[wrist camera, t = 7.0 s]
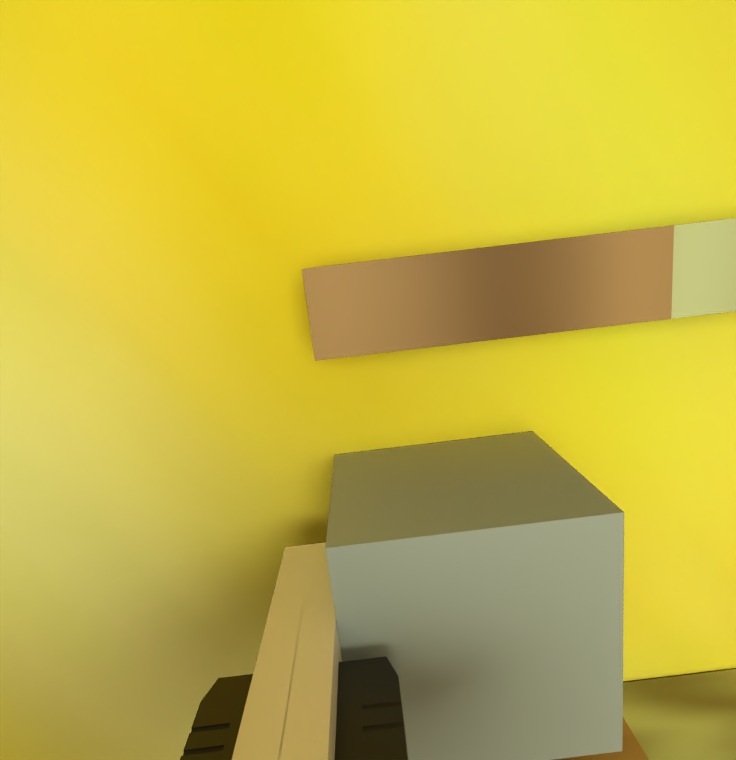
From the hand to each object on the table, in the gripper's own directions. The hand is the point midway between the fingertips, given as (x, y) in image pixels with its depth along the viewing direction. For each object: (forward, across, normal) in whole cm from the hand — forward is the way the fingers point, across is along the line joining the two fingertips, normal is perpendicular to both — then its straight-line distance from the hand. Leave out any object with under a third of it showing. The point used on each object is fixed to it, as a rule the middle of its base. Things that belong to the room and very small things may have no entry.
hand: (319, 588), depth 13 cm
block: (+2, +4, 0) cm, 4 cm away
